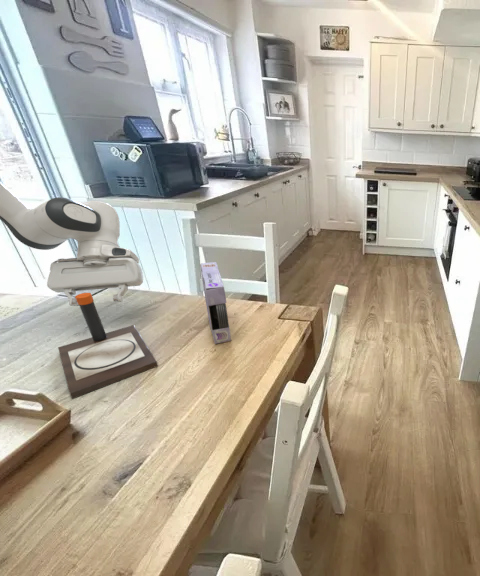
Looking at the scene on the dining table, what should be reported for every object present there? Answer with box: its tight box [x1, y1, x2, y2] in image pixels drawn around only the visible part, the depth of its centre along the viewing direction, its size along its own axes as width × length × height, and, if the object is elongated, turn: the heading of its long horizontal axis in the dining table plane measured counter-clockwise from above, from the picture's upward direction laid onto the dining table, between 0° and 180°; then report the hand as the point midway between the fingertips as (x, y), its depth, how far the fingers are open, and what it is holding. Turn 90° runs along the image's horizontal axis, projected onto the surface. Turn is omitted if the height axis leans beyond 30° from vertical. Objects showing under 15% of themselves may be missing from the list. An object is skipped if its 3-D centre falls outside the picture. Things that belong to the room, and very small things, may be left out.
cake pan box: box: [199, 261, 232, 345], centre depth 93 cm, size 19×5×18 cm, turn 31°
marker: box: [74, 292, 107, 341], centre depth 84 cm, size 3×3×13 cm
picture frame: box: [57, 324, 159, 399], centre depth 81 cm, size 22×16×2 cm
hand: (96, 303), depth 87 cm, fingers open, 8 cm apart
